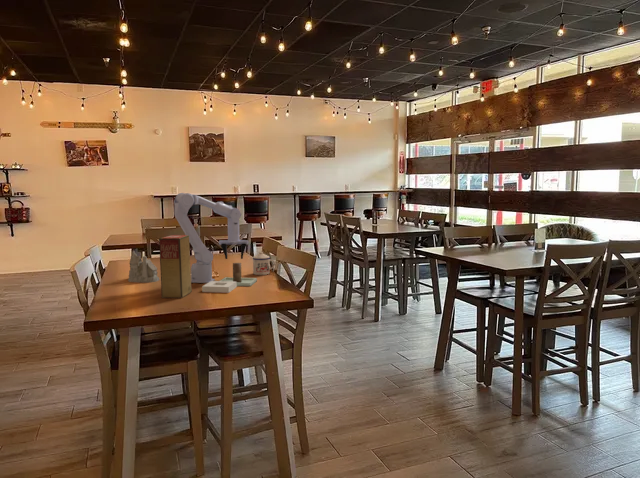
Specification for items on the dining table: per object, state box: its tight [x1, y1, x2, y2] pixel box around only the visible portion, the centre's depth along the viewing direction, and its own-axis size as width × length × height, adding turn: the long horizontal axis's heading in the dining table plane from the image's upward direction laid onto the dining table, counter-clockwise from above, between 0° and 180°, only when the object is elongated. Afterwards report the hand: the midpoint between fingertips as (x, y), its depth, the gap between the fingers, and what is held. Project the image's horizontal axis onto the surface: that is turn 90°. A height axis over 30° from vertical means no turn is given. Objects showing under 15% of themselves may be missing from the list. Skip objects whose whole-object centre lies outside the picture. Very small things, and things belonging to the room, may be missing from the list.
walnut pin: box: [232, 262, 242, 283], centre depth 224 cm, size 4×4×9 cm
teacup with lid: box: [252, 251, 276, 276], centre depth 249 cm, size 12×9×12 cm
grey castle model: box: [127, 250, 160, 284], centre depth 234 cm, size 16×16×15 cm
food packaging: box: [158, 234, 192, 299], centre depth 200 cm, size 13×9×25 cm
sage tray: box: [219, 276, 258, 287], centre depth 225 cm, size 16×12×2 cm
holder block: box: [201, 280, 238, 294], centre depth 212 cm, size 12×12×2 cm
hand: (234, 258), depth 236 cm, fingers open, 7 cm apart
